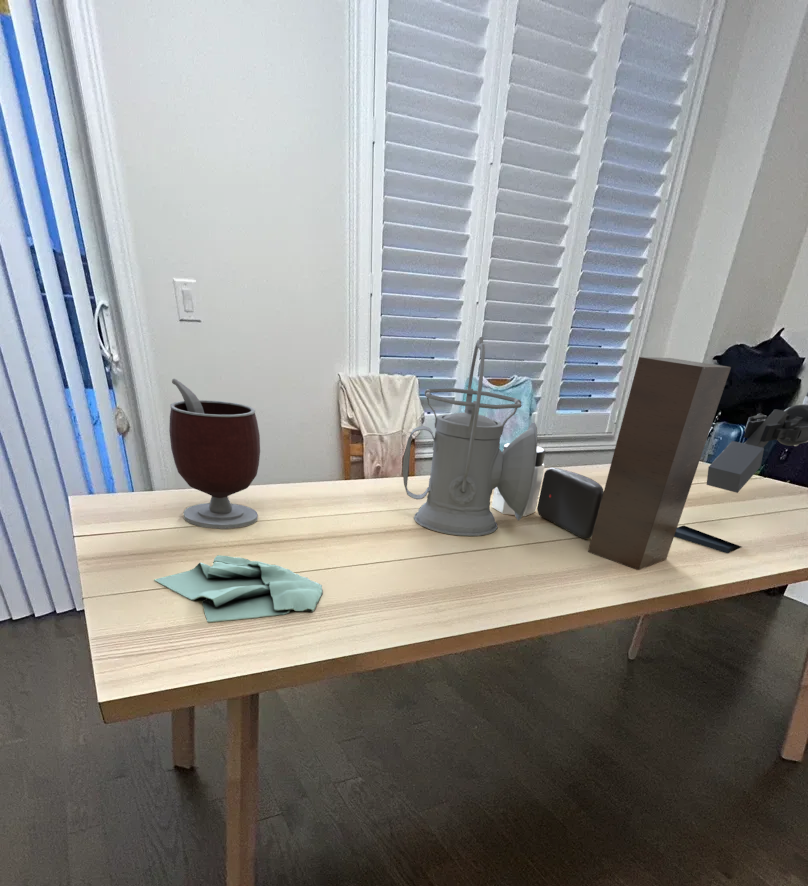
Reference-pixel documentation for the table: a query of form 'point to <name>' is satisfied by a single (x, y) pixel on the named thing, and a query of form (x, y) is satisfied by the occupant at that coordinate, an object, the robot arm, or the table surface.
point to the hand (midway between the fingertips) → (756, 431)
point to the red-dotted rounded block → (570, 501)
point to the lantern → (473, 464)
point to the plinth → (656, 458)
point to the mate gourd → (215, 456)
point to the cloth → (244, 589)
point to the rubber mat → (705, 539)
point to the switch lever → (741, 458)
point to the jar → (503, 507)
